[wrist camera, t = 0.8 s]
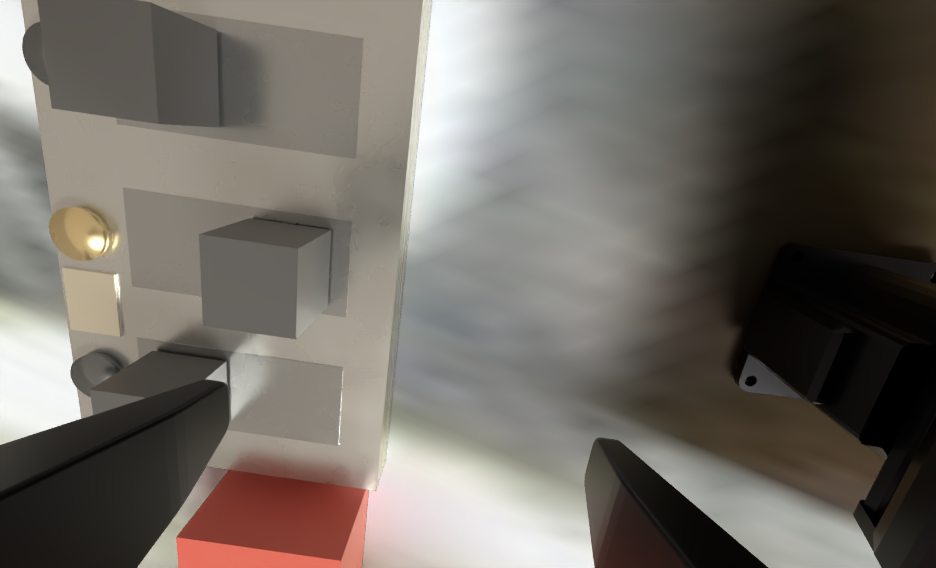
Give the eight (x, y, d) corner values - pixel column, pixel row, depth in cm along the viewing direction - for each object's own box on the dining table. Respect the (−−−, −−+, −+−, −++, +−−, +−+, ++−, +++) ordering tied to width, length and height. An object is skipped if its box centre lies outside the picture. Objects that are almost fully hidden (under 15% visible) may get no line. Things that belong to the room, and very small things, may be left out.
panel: (433, -8, 16) (423, -34, 13) (385, 460, 22) (373, 497, 20) (66, -63, 16) (-6, -97, 13) (121, 422, 22) (78, 454, 20)
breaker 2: (226, 361, 18) (177, 402, 15) (228, 424, 19) (182, 474, 16) (152, 350, 18) (89, 389, 15) (157, 414, 19) (99, 462, 16)
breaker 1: (216, 30, 14) (150, 2, 12) (219, 127, 15) (158, 124, 13) (124, 16, 14) (35, -15, 12) (133, 114, 15) (51, 108, 12)
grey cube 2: (331, 229, 16) (298, 248, 13) (327, 306, 17) (295, 339, 14) (249, 218, 16) (198, 234, 13) (250, 295, 17) (202, 325, 14)
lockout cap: (369, 478, 22) (340, 560, 18) (360, 577, 24) (333, 673, 20) (237, 459, 22) (176, 537, 18) (239, 560, 24) (185, 652, 20)
